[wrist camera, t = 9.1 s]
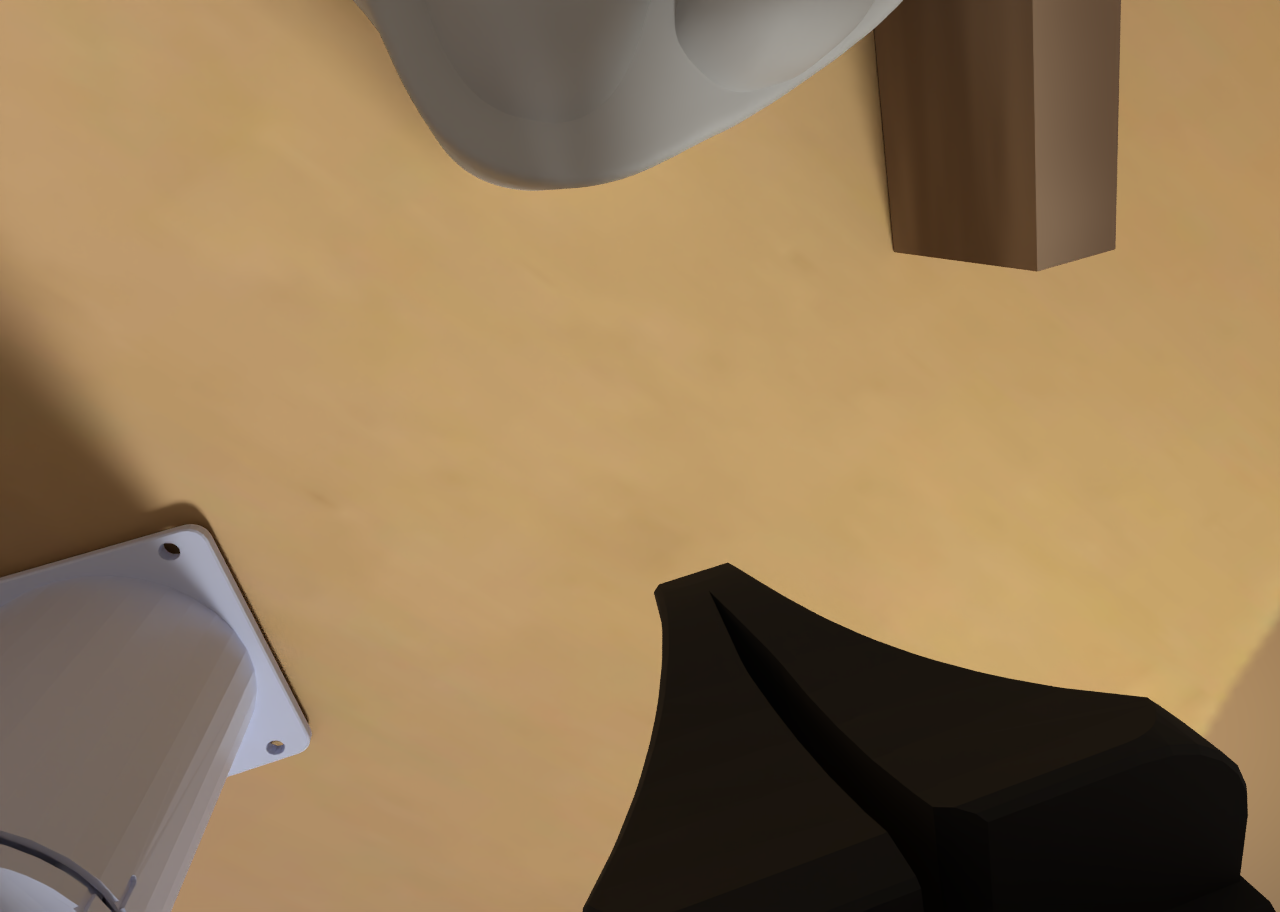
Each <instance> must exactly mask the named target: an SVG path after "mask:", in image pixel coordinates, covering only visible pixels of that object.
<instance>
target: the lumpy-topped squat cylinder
mask: <svg viewBox="0 0 1280 912" xmlns="http://www.w3.org/2000/svg"><path fill="white" fill-rule="evenodd" d="M353 1H354V2H355V3H356V4H357V5H358V6H359V8H360V9H361V10H362V11H363V12H364V14H365V15H366V16H367V17H368V18H369V20H370V21H371V22H372V23H373V25H374V26H375V27H376V29H377V30H378V31H379V33H380V35H381V38H382V40H383V42H384V44H385V46H386V49H387V51H388V53H389V55H390V57H391V59H392V62H393V64H394V66H395V68H396V71H397V73H398V75H399V77H400V79H401V81H402V83H403V85H404V87H405V88H406V90H407V92H408V94H409V96H410V97H411V99H412V101H413V103H414V104H415V106H416V108H417V110H418V111H419V113H420V115H421V116H422V118H423V119H424V121H425V122H426V124H427V125H428V126H429V128H430V130H431V131H432V133H433V135H434V136H435V138H436V139H437V141H438V142H439V144H440V145H441V146H442V148H443V149H444V150H445V151H446V153H447V154H448V155H449V156H450V157H451V158H452V159H453V160H454V161H455V162H456V163H457V164H458V165H459V166H461V167H462V168H463V169H464V170H466V171H467V172H469V173H470V174H472V175H474V176H476V177H477V178H479V179H482V180H484V181H486V182H489V183H491V184H494V185H498V186H501V187H506V188H511V189H517V190H528V191H540V190H555V189H567V188H580V187H588V186H594V185H600V184H604V183H608V182H612V181H616V180H620V179H623V178H626V177H629V176H632V175H635V174H637V173H640V172H642V171H645V170H647V169H649V168H651V167H654V166H656V165H658V164H660V163H661V162H664V161H666V160H668V159H670V158H672V157H674V156H676V155H678V154H680V153H681V152H683V151H685V150H687V149H689V148H691V147H693V146H695V145H697V144H698V143H700V142H702V141H704V140H706V139H708V138H710V137H712V136H714V135H717V134H719V133H721V132H723V131H725V130H727V129H729V128H731V127H733V126H735V125H737V124H738V123H740V122H742V121H744V120H745V119H747V118H749V117H750V116H752V115H754V114H755V113H757V112H758V111H760V110H762V109H763V108H765V107H766V106H768V105H770V104H771V103H773V102H774V101H776V100H777V99H779V98H781V97H782V96H784V95H785V94H786V93H788V92H789V91H791V90H792V89H794V88H795V87H797V86H798V85H799V84H801V83H802V82H804V81H805V80H807V79H808V78H810V77H811V76H812V75H814V74H815V73H817V72H818V71H820V70H821V69H822V68H824V67H825V66H827V65H828V64H829V63H831V62H832V61H834V60H835V59H836V58H838V57H839V56H841V55H842V54H843V53H844V52H846V51H847V50H848V49H849V48H850V47H852V46H853V45H854V44H855V43H857V42H858V41H859V40H861V39H862V38H863V37H864V36H866V35H867V34H868V33H870V32H871V31H872V30H873V29H874V28H875V27H876V26H878V25H879V24H880V23H881V22H882V21H883V20H884V19H885V18H886V17H887V16H888V15H889V14H890V13H891V12H892V11H893V10H894V9H895V8H896V7H897V6H898V5H899V4H900V3H901V2H902V1H903V0H353Z"/></svg>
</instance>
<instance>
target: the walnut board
mask: <svg viewBox="0 0 1280 912" xmlns="http://www.w3.org/2000/svg"><path fill="white" fill-rule="evenodd" d="M1120 15H1121V0H903V1H902V2H901V3H900V4H899V5H898V6H897V7H896V8H895V9H894V10H893V11H892V12H891V13H890V14H889V15H888V16H887V17H886V18H885V19H884V20H883V21H882V22H881V23H880V24H879V25H878V26H876V27H875V28H874V35H875V46H876V57H877V68H878V79H879V90H880V101H881V112H882V123H883V134H884V146H885V157H886V168H887V179H888V190H889V201H890V212H891V223H892V234H893V245H894V252H898V253H905V254H912V255H920V256H927V257H935V258H942V259H949V260H957V261H964V262H972V263H979V264H986V265H994V266H1001V267H1009V268H1016V269H1023V270H1031V271H1040V270H1044V269H1047V268H1051V267H1054V266H1058V265H1061V264H1065V263H1068V262H1072V261H1075V260H1079V259H1082V258H1086V257H1089V256H1093V255H1096V254H1100V253H1103V252H1107V251H1110V250H1114V249H1115V239H1116V194H1117V150H1118V105H1119V60H1120Z"/></svg>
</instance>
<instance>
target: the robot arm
mask: <svg viewBox="0 0 1280 912" xmlns="http://www.w3.org/2000/svg"><path fill="white" fill-rule="evenodd" d="M164 543H172V544H175V545H176V546H177V547H178V548H179V549H180V553H179V554H172V553H170V552H168V551H167V550H166V549H165V548H164ZM654 595H655V599H656V602H657V606H658V610H659V614H660V618H661V622H662V670H661V679H660V689H659V698H658V705H657V711H656V717H655V722H654V727H653V731H652V736H651V741H650V745H649V749H648V752H647V756H646V759H645V763H644V767H643V770H642V774H641V777H640V780H639V783H638V787H637V790H636V792H635V795H634V798H633V801H632V803H631V806H630V808H629V811H628V813H627V816H626V818H625V821H624V823H623V826H622V829H621V831H620V834H619V836H618V839H617V841H616V843H615V846H614V848H613V850H612V852H611V854H610V856H609V858H608V860H607V862H606V864H605V866H604V868H603V870H602V872H601V874H600V876H599V878H598V880H597V882H596V884H595V886H594V888H593V890H592V892H591V894H590V896H589V898H588V900H587V902H586V903H585V905H584V907H583V912H1276V911H1275V910H1274V908H1273V906H1272V905H1271V903H1270V901H1269V900H1267V899H1266V898H1265V897H1264V896H1263V895H1262V894H1261V893H1259V892H1258V891H1257V890H1256V889H1255V888H1254V887H1253V886H1252V885H1250V884H1249V883H1248V882H1247V881H1246V880H1245V879H1244V878H1243V877H1242V876H1240V872H1241V864H1242V856H1243V848H1244V840H1245V832H1246V825H1247V817H1248V811H1247V810H1248V809H1247V788H1246V783H1245V781H1244V779H1243V776H1242V774H1241V772H1240V770H1239V767H1238V765H1237V764H1235V763H1234V762H1233V761H1232V760H1231V759H1230V758H1228V757H1227V756H1226V755H1225V754H1224V753H1223V752H1221V751H1220V750H1218V749H1217V748H1216V747H1215V746H1214V745H1212V744H1211V743H1210V742H1208V741H1207V740H1206V739H1204V738H1203V737H1202V736H1201V735H1199V734H1198V733H1197V732H1195V731H1194V730H1193V729H1191V728H1190V727H1189V726H1187V725H1186V724H1185V723H1183V722H1182V721H1181V720H1179V719H1178V718H1176V717H1175V716H1174V715H1172V714H1171V713H1169V712H1168V711H1166V710H1165V709H1164V708H1162V707H1161V706H1159V705H1158V704H1156V703H1154V702H1153V701H1151V700H1150V699H1149V698H1147V697H1138V696H1129V695H1120V694H1111V693H1102V692H1093V691H1084V690H1076V689H1067V688H1060V687H1053V686H1048V685H1042V684H1036V683H1031V682H1025V681H1020V680H1014V679H1009V678H1004V677H999V676H995V675H990V674H985V673H981V672H977V671H973V670H969V669H965V668H961V667H958V666H954V665H950V664H946V663H943V662H939V661H935V660H932V659H929V658H925V657H922V656H919V655H916V654H913V653H910V652H907V651H904V650H901V649H898V648H896V647H893V646H890V645H887V644H884V643H882V642H879V641H876V640H874V639H871V638H869V637H866V636H864V635H861V634H859V633H856V632H854V631H852V630H850V629H848V628H845V627H843V626H841V625H839V624H837V623H834V622H832V621H830V620H828V619H826V618H824V617H822V616H820V615H818V614H816V613H814V612H812V611H810V610H808V609H807V608H805V607H803V606H801V605H799V604H797V603H795V602H794V601H792V600H790V599H788V598H786V597H785V596H783V595H781V594H779V593H778V592H776V591H774V590H773V589H771V588H769V587H768V586H766V585H764V584H763V583H761V582H759V581H758V580H756V579H754V578H753V577H751V576H750V575H748V574H746V573H745V572H743V571H741V570H740V569H738V568H736V567H735V566H733V565H731V564H729V563H725V564H722V565H719V566H716V567H713V568H709V569H706V570H703V571H700V572H697V573H694V574H691V575H687V576H684V577H681V578H678V579H675V580H672V581H669V582H665V583H662V584H659V585H658V587H657V588H656V590H655V592H654ZM311 736H312V732H311V729H310V727H309V725H308V723H307V721H306V719H305V717H304V715H303V713H302V711H301V709H300V707H299V705H298V703H297V701H296V699H295V697H294V695H293V693H292V691H291V689H290V687H289V686H288V684H287V682H286V680H285V678H284V676H283V674H282V672H281V670H280V668H279V666H278V664H277V662H276V660H275V658H274V656H273V654H272V652H271V650H270V648H269V646H268V645H267V643H266V641H265V639H264V637H263V635H262V633H261V631H260V629H259V627H258V625H257V623H256V621H255V619H254V617H253V615H252V613H251V611H250V609H249V607H248V605H247V603H246V602H245V600H244V598H243V596H242V594H241V592H240V590H239V588H238V586H237V584H236V582H235V580H234V578H233V576H232V574H231V572H230V570H229V568H228V566H227V564H226V562H225V560H224V559H223V557H222V555H221V553H220V551H219V549H218V547H217V545H216V543H215V541H214V539H213V537H212V535H211V534H210V533H209V531H208V530H207V529H205V528H204V527H202V526H200V525H195V524H187V525H182V526H178V527H175V528H171V529H168V530H164V531H161V532H158V533H154V534H151V535H147V536H144V537H140V538H137V539H133V540H130V541H126V542H123V543H119V544H116V545H112V546H109V547H105V548H102V549H98V550H95V551H91V552H88V553H84V554H81V555H77V556H74V557H70V558H67V559H63V560H60V561H56V562H53V563H49V564H46V565H43V566H39V567H36V568H32V569H29V570H25V571H22V572H18V573H15V574H11V575H8V576H4V577H1V578H0V912H171V910H172V908H173V905H174V903H175V900H176V898H177V896H178V893H179V891H180V889H181V886H182V884H183V881H184V879H185V877H186V874H187V872H188V869H189V867H190V865H191V862H192V860H193V857H194V855H195V853H196V850H197V848H198V845H199V843H200V841H201V838H202V836H203V833H204V831H205V829H206V826H207V824H208V821H209V819H210V817H211V814H212V812H213V809H214V807H215V805H216V802H217V800H218V797H219V795H220V793H221V790H222V788H223V785H224V783H225V781H226V778H227V777H229V776H232V775H235V774H238V773H241V772H244V771H247V770H250V769H253V768H256V767H259V766H262V765H265V764H268V763H271V762H274V761H277V760H280V759H283V758H286V757H289V756H292V755H295V754H298V753H301V752H302V751H304V750H305V749H306V748H307V747H308V746H309V743H310V739H311ZM276 740H277V741H281V742H282V743H283V745H280V746H276V745H273V744H272V743H271V741H276Z"/></svg>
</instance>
